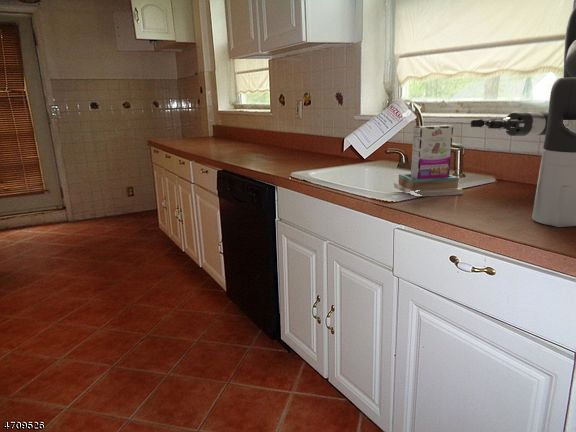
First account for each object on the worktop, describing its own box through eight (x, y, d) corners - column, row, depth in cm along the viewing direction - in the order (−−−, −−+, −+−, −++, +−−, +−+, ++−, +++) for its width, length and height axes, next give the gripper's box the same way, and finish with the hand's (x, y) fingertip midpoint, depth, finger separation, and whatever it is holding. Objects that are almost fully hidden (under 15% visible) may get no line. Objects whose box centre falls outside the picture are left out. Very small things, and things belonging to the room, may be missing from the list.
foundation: (462, 194, 132) (464, 178, 130) (414, 196, 128) (416, 181, 127) (437, 185, 145) (439, 171, 143) (394, 187, 141) (395, 173, 140)
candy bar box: (440, 176, 139) (445, 124, 134) (449, 178, 134) (454, 125, 130) (409, 177, 136) (413, 125, 132) (417, 180, 132) (421, 126, 127)
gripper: (510, 111, 141) (467, 111, 138) (544, 112, 128) (497, 112, 124) (507, 134, 143) (464, 134, 140) (540, 137, 130) (493, 138, 126)
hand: (479, 124), depth 132 cm, fingers open, 8 cm apart
